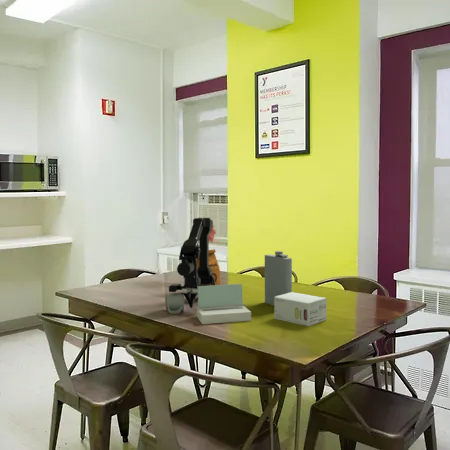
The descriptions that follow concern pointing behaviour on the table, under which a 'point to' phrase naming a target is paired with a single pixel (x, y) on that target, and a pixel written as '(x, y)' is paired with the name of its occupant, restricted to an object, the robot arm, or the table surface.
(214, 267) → the coffee package
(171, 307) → the ceramic mug
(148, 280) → the table surface
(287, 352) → the table surface
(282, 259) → the flask
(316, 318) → the supplement box
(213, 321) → the panel
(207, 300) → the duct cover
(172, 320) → the table surface
